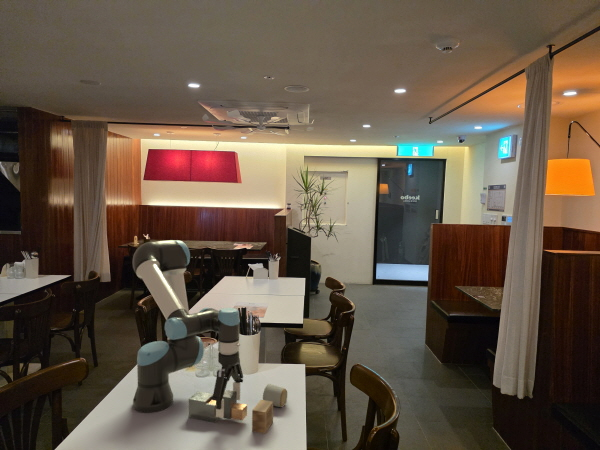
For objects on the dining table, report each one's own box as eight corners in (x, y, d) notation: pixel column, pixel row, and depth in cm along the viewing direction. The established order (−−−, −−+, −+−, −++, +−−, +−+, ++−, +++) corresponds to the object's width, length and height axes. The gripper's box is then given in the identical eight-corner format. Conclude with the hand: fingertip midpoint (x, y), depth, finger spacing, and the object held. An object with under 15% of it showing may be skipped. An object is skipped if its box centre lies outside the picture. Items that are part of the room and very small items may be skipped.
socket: (252, 431, 147) (252, 410, 146) (260, 419, 154) (261, 399, 154) (264, 433, 145) (265, 412, 145) (272, 422, 153) (273, 401, 153)
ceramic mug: (281, 411, 161) (281, 391, 161) (262, 407, 164) (262, 388, 163) (290, 399, 171) (291, 380, 171) (272, 395, 174) (272, 377, 173)
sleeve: (188, 417, 155) (188, 398, 155) (197, 409, 161) (197, 391, 161) (214, 422, 152) (214, 403, 152) (222, 414, 158) (222, 395, 158)
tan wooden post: (192, 412, 155) (192, 391, 155) (199, 405, 160) (199, 385, 160) (241, 421, 149) (241, 399, 149) (247, 414, 154) (247, 393, 154)
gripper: (222, 365, 139) (221, 426, 141) (252, 341, 163) (251, 394, 164) (202, 362, 141) (202, 423, 143) (234, 339, 165) (234, 391, 167)
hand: (228, 407), depth 154 cm, fingers open, 13 cm apart
